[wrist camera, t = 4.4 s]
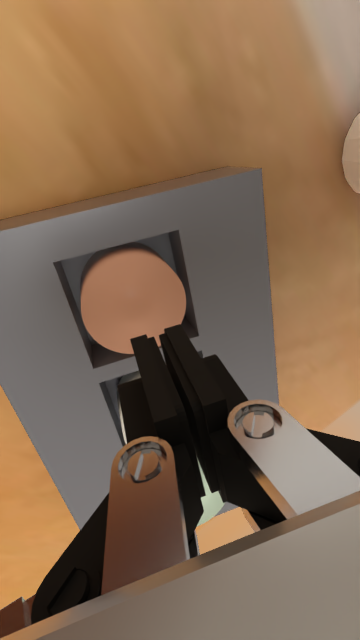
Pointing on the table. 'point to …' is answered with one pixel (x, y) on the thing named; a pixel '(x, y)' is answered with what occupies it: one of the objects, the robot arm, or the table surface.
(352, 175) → the light grey cup
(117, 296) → the terracotta button
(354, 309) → the table surface
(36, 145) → the table surface
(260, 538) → the robot arm
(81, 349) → the console
